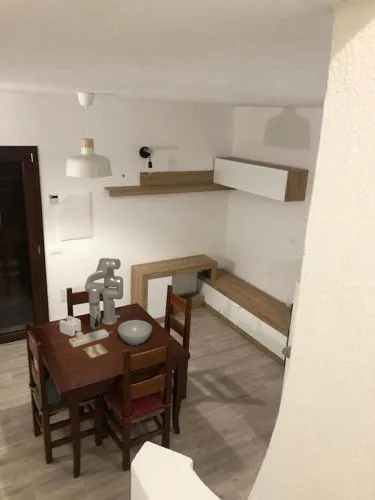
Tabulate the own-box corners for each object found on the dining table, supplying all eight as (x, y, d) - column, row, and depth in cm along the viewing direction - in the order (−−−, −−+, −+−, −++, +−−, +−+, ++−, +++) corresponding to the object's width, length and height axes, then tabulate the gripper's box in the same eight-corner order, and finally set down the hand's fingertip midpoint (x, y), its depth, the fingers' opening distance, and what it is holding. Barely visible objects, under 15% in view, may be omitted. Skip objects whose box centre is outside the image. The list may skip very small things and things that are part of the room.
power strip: (110, 330, 340) (110, 321, 338) (115, 334, 334) (115, 325, 332) (69, 342, 319) (68, 333, 317) (73, 347, 313) (72, 338, 311)
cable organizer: (82, 332, 335) (81, 319, 331) (73, 338, 326) (72, 325, 322) (68, 327, 341) (67, 315, 338) (59, 332, 332) (58, 320, 329)
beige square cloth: (100, 344, 319) (100, 343, 319) (108, 352, 309) (108, 351, 308) (83, 349, 311) (83, 348, 311) (91, 358, 300) (90, 357, 300)
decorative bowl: (127, 330, 341) (127, 317, 338) (156, 336, 334) (157, 323, 330) (111, 346, 317) (111, 332, 313) (143, 353, 310) (143, 339, 306)
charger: (96, 324, 306) (96, 315, 304) (99, 327, 303) (99, 318, 300) (90, 326, 303) (90, 317, 301) (93, 329, 300) (92, 319, 297)
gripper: (104, 306, 293) (104, 328, 298) (94, 297, 305) (94, 319, 311) (94, 308, 288) (95, 331, 294) (84, 299, 301) (85, 321, 307)
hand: (94, 324), depth 302 cm, fingers closed on charger, 5 cm apart
